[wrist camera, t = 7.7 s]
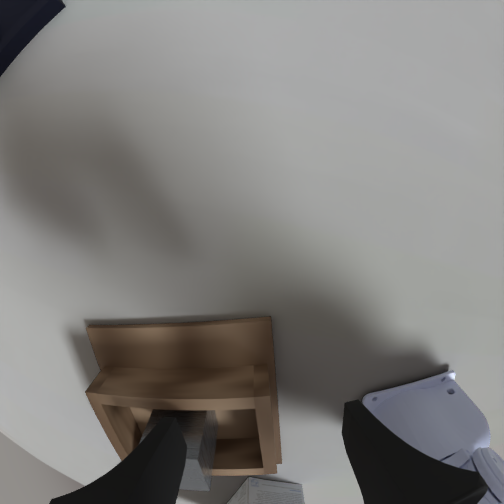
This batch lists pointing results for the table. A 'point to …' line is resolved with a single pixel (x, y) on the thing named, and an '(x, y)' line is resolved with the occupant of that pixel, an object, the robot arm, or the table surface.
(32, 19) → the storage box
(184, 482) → the steel block
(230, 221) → the table surface
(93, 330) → the walnut well
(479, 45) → the table surface
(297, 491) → the light bulb box
